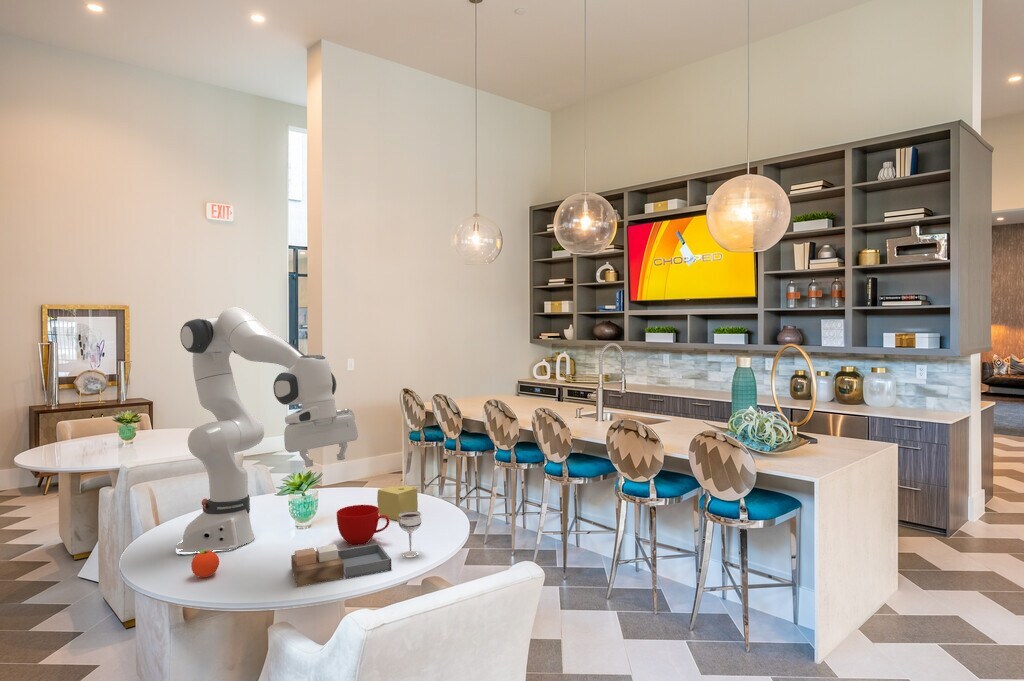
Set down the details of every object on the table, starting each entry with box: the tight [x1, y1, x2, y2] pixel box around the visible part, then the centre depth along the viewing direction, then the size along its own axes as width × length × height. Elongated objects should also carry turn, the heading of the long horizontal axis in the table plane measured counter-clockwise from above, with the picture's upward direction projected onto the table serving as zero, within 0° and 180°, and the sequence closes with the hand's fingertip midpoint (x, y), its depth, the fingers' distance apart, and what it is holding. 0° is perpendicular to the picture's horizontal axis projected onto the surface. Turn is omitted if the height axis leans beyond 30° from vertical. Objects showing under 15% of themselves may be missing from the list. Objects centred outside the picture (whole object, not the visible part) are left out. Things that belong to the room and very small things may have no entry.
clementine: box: [190, 550, 220, 578], centre depth 168 cm, size 8×7×7 cm
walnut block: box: [290, 550, 345, 588], centre depth 168 cm, size 12×13×4 cm
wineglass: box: [397, 510, 422, 556], centre depth 182 cm, size 7×7×12 cm
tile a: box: [316, 543, 339, 562], centre depth 170 cm, size 5×5×2 cm
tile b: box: [294, 547, 316, 566], centre depth 167 cm, size 5×5×2 cm
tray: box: [338, 543, 392, 579], centre depth 174 cm, size 12×14×3 cm
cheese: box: [376, 484, 419, 522], centre depth 220 cm, size 10×11×10 cm
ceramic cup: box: [336, 504, 390, 547], centre depth 193 cm, size 13×17×10 cm
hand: (325, 463), depth 167 cm, fingers open, 8 cm apart
